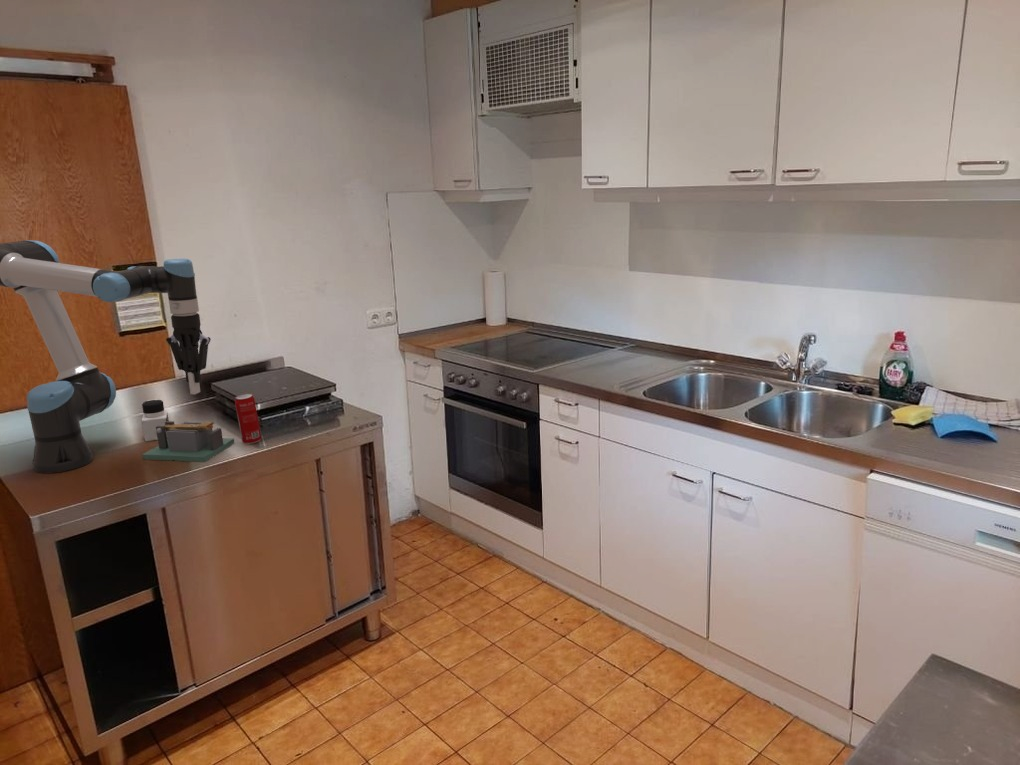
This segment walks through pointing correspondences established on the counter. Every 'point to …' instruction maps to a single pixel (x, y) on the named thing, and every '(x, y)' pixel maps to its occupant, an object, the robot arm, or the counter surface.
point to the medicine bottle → (153, 418)
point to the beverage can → (247, 418)
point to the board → (186, 455)
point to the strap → (190, 426)
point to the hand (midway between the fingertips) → (195, 392)
